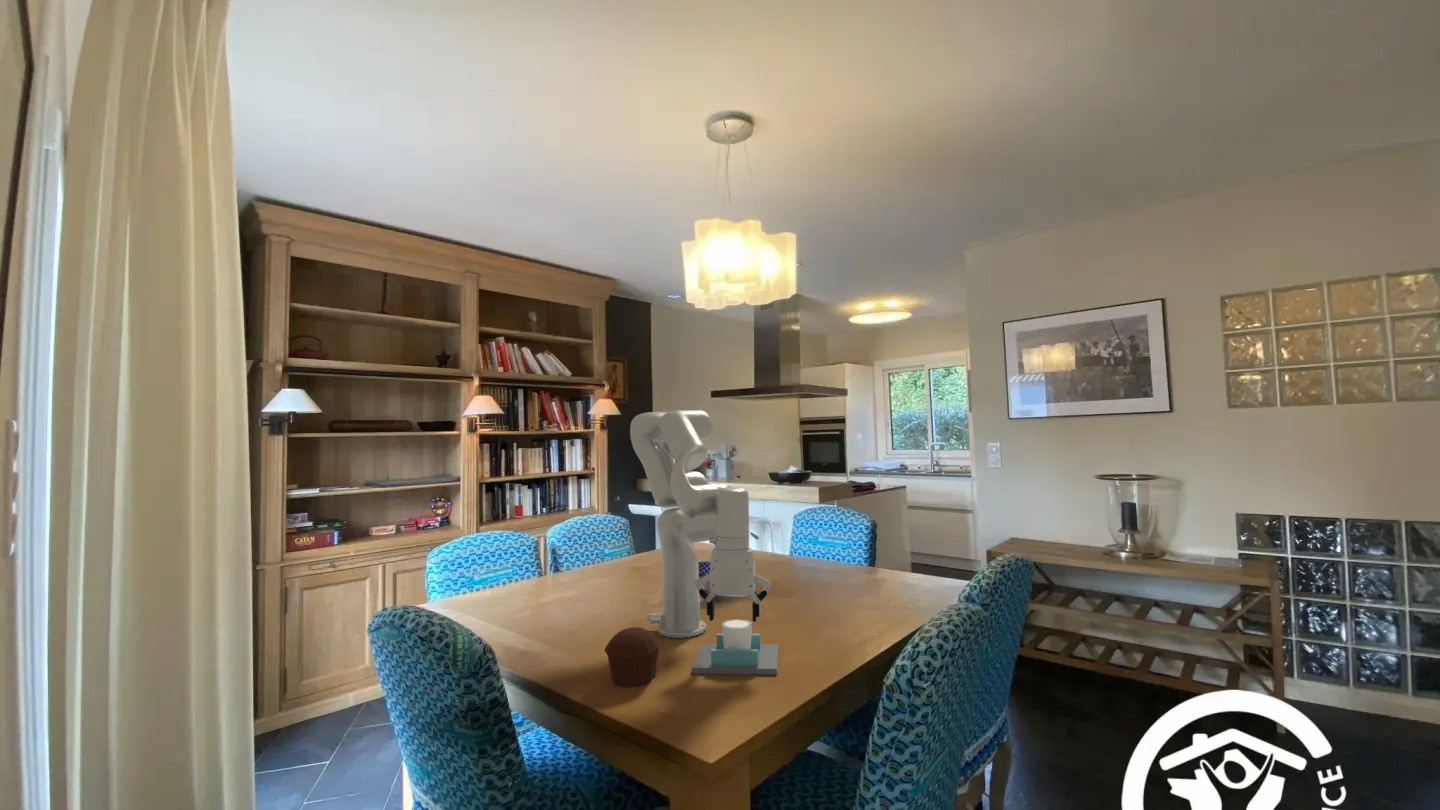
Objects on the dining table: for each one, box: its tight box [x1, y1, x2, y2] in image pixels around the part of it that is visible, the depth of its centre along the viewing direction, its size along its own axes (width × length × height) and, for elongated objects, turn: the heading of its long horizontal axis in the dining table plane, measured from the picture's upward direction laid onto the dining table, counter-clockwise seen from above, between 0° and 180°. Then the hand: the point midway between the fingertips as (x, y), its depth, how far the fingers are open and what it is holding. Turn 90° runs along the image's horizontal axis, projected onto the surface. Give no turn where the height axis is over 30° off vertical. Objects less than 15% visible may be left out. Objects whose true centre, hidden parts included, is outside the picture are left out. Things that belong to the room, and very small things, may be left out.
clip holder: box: [691, 632, 779, 676], centre depth 129 cm, size 18×14×4 cm
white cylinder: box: [720, 618, 753, 649], centre depth 129 cm, size 7×7×7 cm
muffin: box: [604, 626, 661, 689], centre depth 121 cm, size 12×11×10 cm
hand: (733, 619), depth 130 cm, fingers open, 9 cm apart
